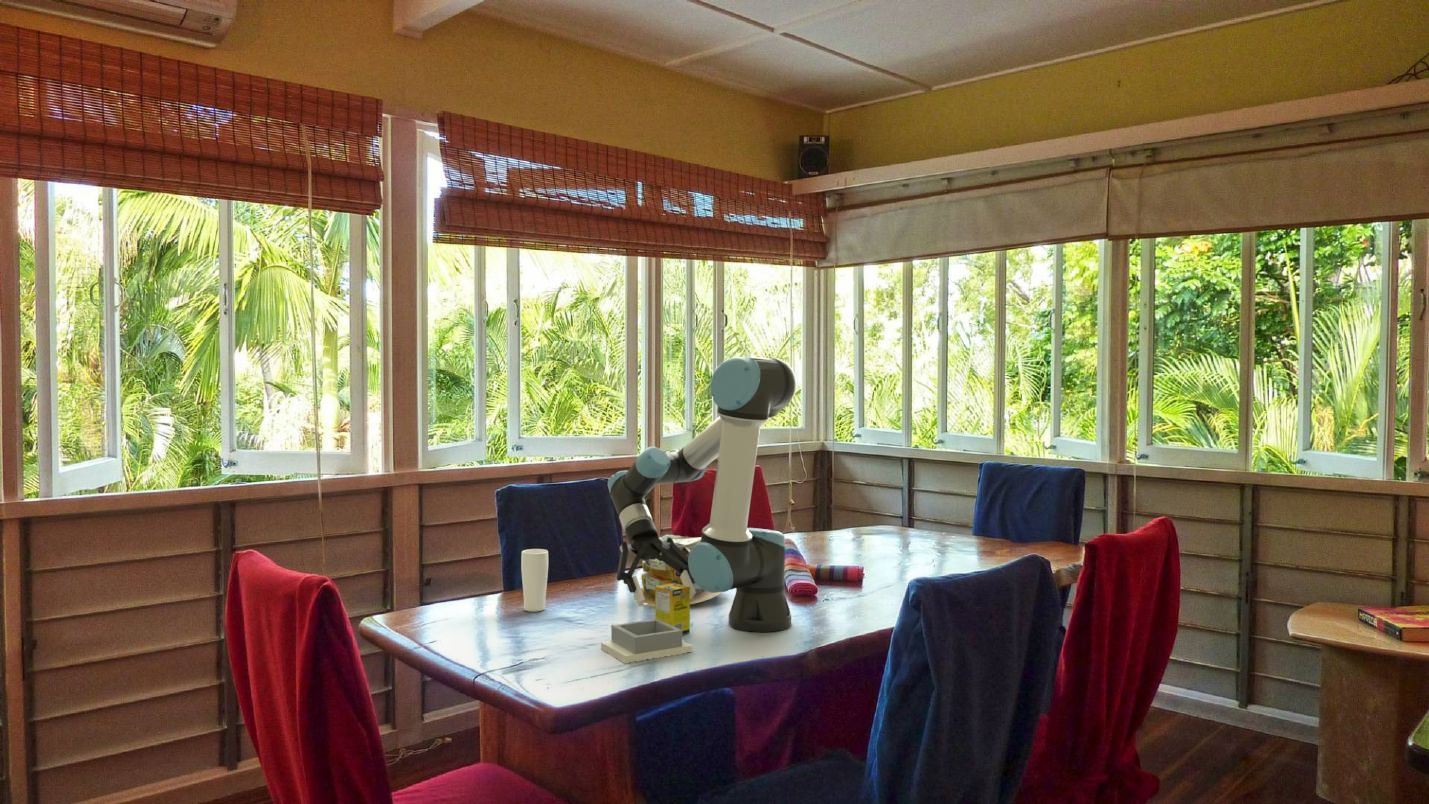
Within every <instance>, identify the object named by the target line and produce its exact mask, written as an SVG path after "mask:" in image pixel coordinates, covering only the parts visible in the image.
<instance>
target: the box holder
mask: <svg viewBox="0 0 1429 804" xmlns="http://www.w3.org/2000/svg"><path fill="white" fill-rule="evenodd" d="M610 632H611V633H610V636H611V638H610V639H611V640H607V641H601V643H600V644H601V645H600V649H601V651H603V652H605V653H607V654H609V655H610V656H612V657H614V658H616V659H617V660H619V661H620V662H622V661H623V663H624V664H630V663H629V662H631V663H634V662H633V661H637V662H642V661H641V660H643V661H647V660H646V659H649V660H651V659H650V658H655V659H660V657H661V658H665V657H664V656H667V657H669V656H668V655H673V656H678V655H677V654H679V655H683V654H682V653H685V654H687V653H686V652H691V653H693V645H692V644H690V643H688V642H686V641H684V640H683V634H682V630H680V629H678V628H676V627H674V626H672V625H670V624H667V623H665V622H663V621H661V620H659V619H655V618H654V619H653V618H652V619H647V620H646V619H645V620H639V621H632V622H627V623H625V622H624V623H619V624H618V623H617V624H613V625H612V624H611V631H610Z"/></svg>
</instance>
